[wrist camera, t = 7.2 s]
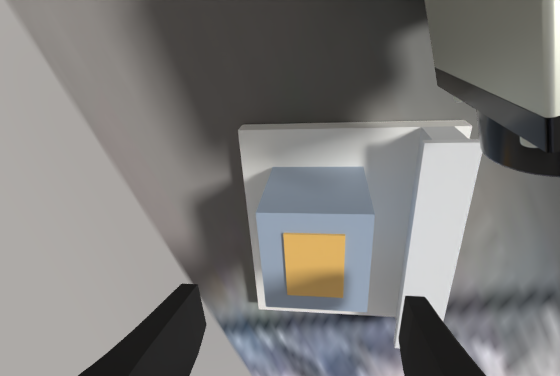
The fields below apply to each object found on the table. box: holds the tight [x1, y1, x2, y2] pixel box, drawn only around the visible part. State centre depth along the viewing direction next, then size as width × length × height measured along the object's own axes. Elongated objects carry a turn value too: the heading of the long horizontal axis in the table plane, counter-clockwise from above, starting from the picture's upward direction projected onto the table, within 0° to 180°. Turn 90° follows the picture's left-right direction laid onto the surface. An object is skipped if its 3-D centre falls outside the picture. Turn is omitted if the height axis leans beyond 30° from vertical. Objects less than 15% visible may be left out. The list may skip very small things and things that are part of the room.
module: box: [256, 167, 375, 312], centre depth 16 cm, size 5×4×5 cm
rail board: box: [238, 120, 482, 348], centre depth 18 cm, size 12×11×3 cm
